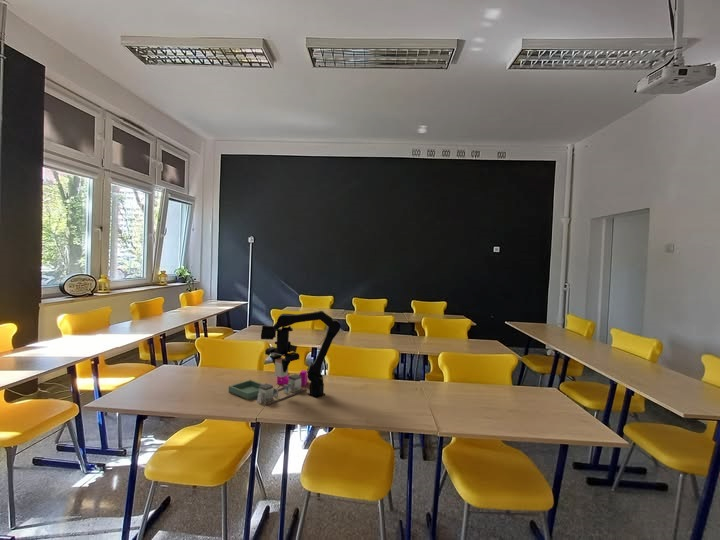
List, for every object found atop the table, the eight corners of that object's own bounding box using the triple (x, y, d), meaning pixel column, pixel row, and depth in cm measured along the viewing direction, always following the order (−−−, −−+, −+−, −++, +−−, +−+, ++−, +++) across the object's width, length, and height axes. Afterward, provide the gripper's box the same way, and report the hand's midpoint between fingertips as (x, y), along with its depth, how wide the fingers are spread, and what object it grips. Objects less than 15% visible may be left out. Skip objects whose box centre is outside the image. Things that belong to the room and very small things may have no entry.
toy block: (307, 382, 198) (307, 369, 197) (304, 386, 191) (305, 372, 191) (280, 380, 199) (280, 367, 198) (276, 384, 192) (277, 370, 192)
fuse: (287, 375, 178) (288, 359, 178) (280, 377, 174) (281, 361, 174) (281, 373, 181) (282, 357, 181) (274, 375, 177) (275, 359, 177)
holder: (306, 390, 186) (307, 376, 185) (266, 405, 164) (267, 390, 164) (292, 385, 192) (292, 372, 192) (251, 399, 170) (252, 385, 170)
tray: (269, 392, 180) (269, 386, 180) (247, 400, 170) (248, 393, 170) (250, 385, 189) (250, 379, 189) (228, 392, 178) (228, 386, 178)
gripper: (307, 340, 178) (306, 371, 179) (281, 334, 189) (280, 363, 189) (291, 344, 169) (290, 376, 170) (265, 337, 180) (263, 368, 180)
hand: (281, 371), depth 178 cm, fingers closed on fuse, 4 cm apart
